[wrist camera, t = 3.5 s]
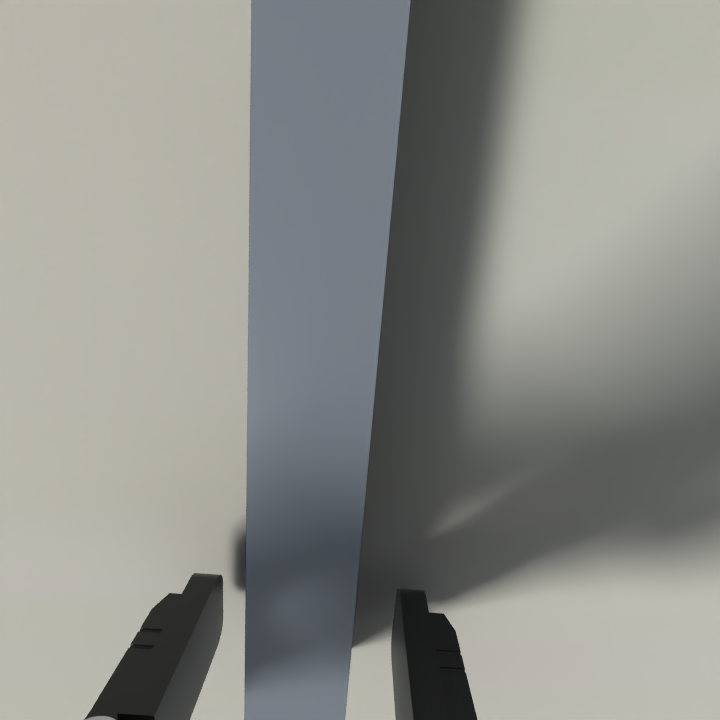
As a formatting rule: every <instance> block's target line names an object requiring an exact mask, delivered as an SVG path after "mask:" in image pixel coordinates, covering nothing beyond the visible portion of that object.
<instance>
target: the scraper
mask: <svg viewBox="0 0 720 720" xmlns="http://www.w3.org/2000/svg"><path fill="white" fill-rule="evenodd" d="M410 2H411V0H251V99H250V201H249V303H248V405H247V507H246V609H245V712H244V720H345V714H346V703H347V692H348V681H349V671H350V660H351V649H352V638H353V627H354V616H355V605H356V594H357V583H358V572H359V561H360V550H361V539H362V528H363V517H364V506H365V495H366V484H367V473H368V462H369V451H370V440H371V429H372V418H373V407H374V396H375V386H376V375H377V364H378V353H379V342H380V331H381V320H382V309H383V298H384V287H385V276H386V265H387V254H388V243H389V232H390V221H391V210H392V199H393V188H394V177H395V166H396V155H397V144H398V133H399V122H400V111H401V101H402V90H403V79H404V68H405V57H406V46H407V35H408V24H409V13H410Z"/></svg>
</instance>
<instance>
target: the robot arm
mask: <svg viewBox="0 0 720 720" xmlns="http://www.w3.org/2000/svg"><path fill="white" fill-rule="evenodd" d="M222 624H223V578H222V575H212V574H199V573H195V574H193V575H192V576H191V578H190V580H189V582H188V584H187V585H186V587H185V589H184V591H183V593H182V594H174V593H169V594H168V595H167V596H166V597H165V598H164V599H163V600H161V601H160V602H159V603H158V604H157V605H156V606H155V607H154V608H152V610H151V611H150V613H149V615H148V616H147V618H146V620H145V621H144V623H143V625H142V626H141V629H140V632H138V633H137V635H136V636H135V638H134V640H133V641H132V643H131V646H130V648H128V650H127V651H126V653H125V655H124V656H123V658H122V660H121V661H120V663H119V664H118V666H117V668H116V669H115V671H114V673H113V674H112V676H111V678H110V679H109V681H108V683H107V684H106V686H105V688H104V689H103V691H102V693H101V694H100V696H99V698H98V699H97V701H96V703H95V704H94V706H93V708H92V709H91V711H90V712H89V714H88V715H87V717H86V718H85V719H84V720H190V718H191V715H192V712H193V710H194V707H195V704H196V702H197V699H198V697H199V694H200V691H201V689H202V686H203V683H204V681H205V678H206V675H207V673H208V670H209V667H210V665H211V662H212V659H213V657H214V654H215V651H216V649H217V646H218V643H219V639H220V635H221V631H222ZM460 652H461V651H460V647H459V643H458V639H457V635H456V631H455V630H454V628H453V627H452V625H451V624H450V622H449V621H448V619H447V618H446V616H445V615H444V614H440V613H429V610H428V605H427V600H426V595H425V592H424V591H423V590H410V589H398V590H397V596H396V604H395V612H394V620H393V628H392V641H391V656H392V672H393V686H394V700H395V715H396V720H477V716H476V712H475V708H474V704H473V700H472V696H471V692H470V688H469V684H468V680H467V676H466V673H465V668H464V664H463V659H462V656H461V654H460Z"/></svg>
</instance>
